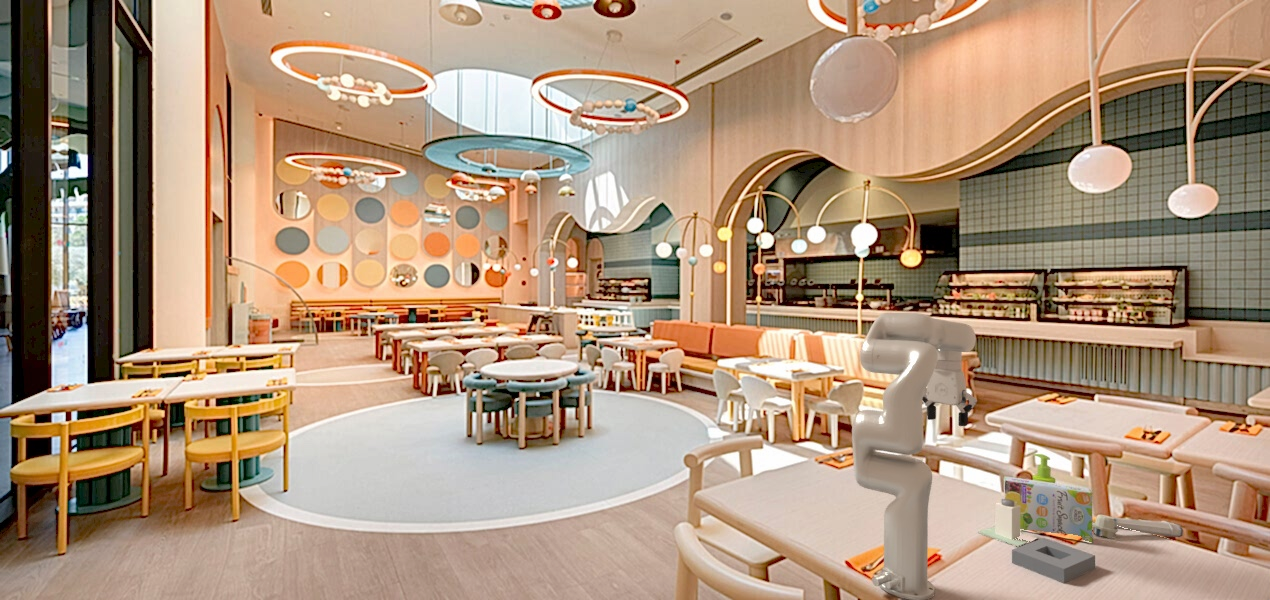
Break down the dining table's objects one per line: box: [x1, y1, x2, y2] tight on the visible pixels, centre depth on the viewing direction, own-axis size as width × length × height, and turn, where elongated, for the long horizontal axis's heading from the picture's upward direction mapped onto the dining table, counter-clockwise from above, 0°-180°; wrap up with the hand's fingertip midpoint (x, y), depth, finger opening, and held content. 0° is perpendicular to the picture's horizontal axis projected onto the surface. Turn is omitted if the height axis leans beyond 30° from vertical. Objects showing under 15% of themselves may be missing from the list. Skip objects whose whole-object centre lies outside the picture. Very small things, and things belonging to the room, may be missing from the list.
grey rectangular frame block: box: [1011, 537, 1096, 584], centre depth 146 cm, size 16×12×4 cm
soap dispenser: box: [1032, 453, 1056, 483], centre depth 179 cm, size 6×7×20 cm
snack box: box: [1003, 476, 1093, 543], centre depth 167 cm, size 21×6×15 cm, turn 58°
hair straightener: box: [1092, 514, 1184, 539], centre depth 165 cm, size 5×7×25 cm
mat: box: [977, 525, 1030, 547], centre depth 164 cm, size 11×11×1 cm
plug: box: [994, 498, 1021, 539], centre depth 164 cm, size 5×5×10 cm
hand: (946, 422), depth 166 cm, fingers open, 9 cm apart
